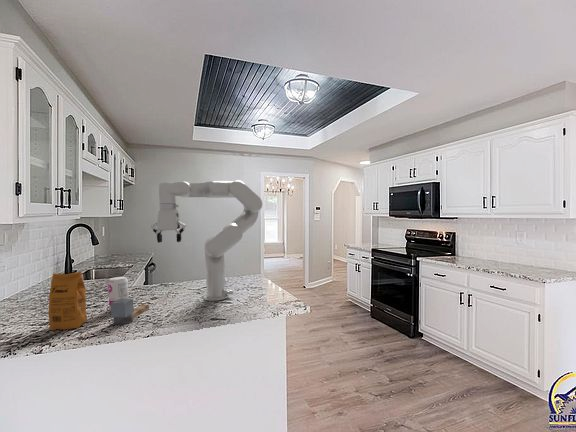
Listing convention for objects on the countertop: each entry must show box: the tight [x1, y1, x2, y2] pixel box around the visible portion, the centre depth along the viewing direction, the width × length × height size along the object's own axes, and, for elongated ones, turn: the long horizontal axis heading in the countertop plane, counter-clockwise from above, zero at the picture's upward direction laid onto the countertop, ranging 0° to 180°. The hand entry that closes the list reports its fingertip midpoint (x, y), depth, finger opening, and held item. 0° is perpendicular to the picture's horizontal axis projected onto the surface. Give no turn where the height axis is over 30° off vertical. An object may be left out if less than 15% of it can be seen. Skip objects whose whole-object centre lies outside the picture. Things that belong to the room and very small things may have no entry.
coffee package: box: [48, 271, 88, 331], centre depth 128 cm, size 10×12×22 cm
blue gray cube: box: [110, 298, 135, 319], centre depth 130 cm, size 6×6×6 cm
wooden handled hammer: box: [113, 304, 150, 326], centre depth 137 cm, size 20×7×7 cm, turn 175°
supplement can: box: [107, 276, 130, 312], centre depth 147 cm, size 8×8×15 cm
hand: (169, 242), depth 155 cm, fingers open, 9 cm apart
